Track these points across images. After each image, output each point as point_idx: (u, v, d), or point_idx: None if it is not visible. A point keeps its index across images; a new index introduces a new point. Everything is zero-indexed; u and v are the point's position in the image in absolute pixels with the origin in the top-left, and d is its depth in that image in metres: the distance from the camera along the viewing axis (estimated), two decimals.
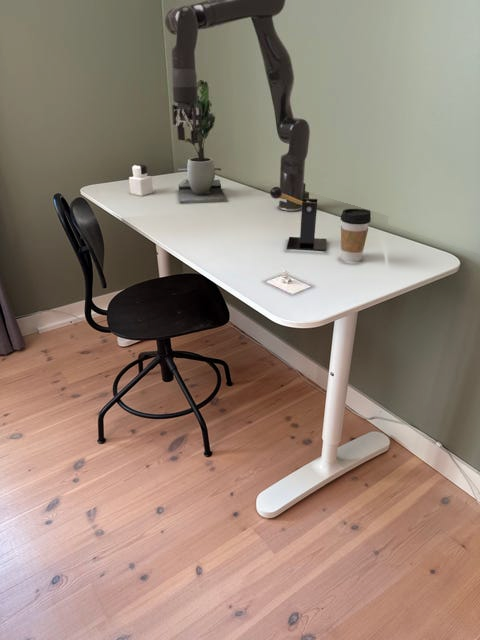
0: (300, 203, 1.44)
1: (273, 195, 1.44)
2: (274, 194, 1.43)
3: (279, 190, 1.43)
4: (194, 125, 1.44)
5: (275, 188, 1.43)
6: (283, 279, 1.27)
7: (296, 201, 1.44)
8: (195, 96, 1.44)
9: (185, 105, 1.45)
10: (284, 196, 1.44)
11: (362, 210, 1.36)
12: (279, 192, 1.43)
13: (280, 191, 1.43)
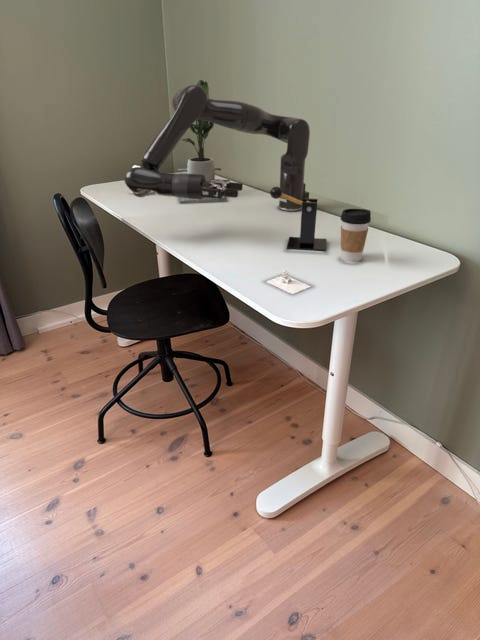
0: (300, 203, 1.44)
1: (273, 195, 1.44)
2: (274, 194, 1.43)
3: (279, 190, 1.43)
4: (218, 197, 1.42)
5: (275, 188, 1.43)
6: (283, 279, 1.27)
7: (296, 201, 1.44)
8: (195, 184, 1.44)
9: None
10: (284, 196, 1.44)
11: (362, 210, 1.36)
12: (279, 192, 1.43)
13: (280, 191, 1.43)
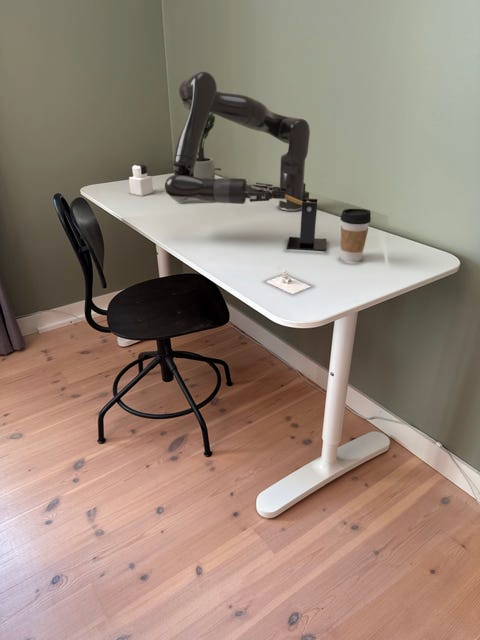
0: (300, 203, 1.44)
1: None
2: None
3: (279, 190, 1.43)
4: None
5: (275, 188, 1.43)
6: (283, 279, 1.27)
7: (296, 201, 1.44)
8: (237, 188, 1.43)
9: None
10: None
11: (362, 210, 1.36)
12: None
13: None
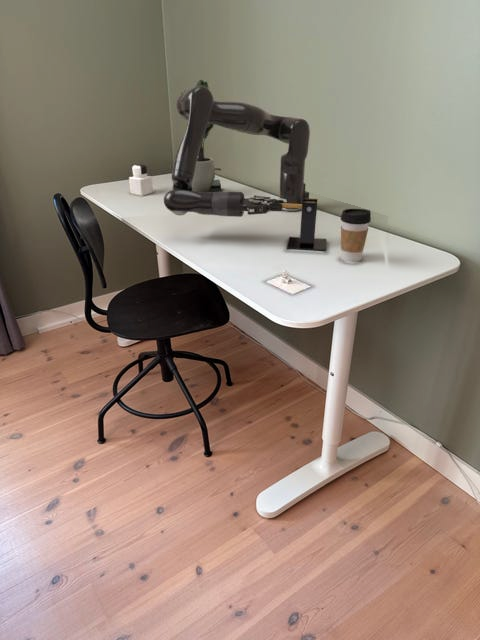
0: (299, 206, 1.45)
1: None
2: None
3: (275, 201, 1.45)
4: None
5: (271, 201, 1.45)
6: (283, 279, 1.27)
7: (295, 206, 1.45)
8: (235, 202, 1.45)
9: None
10: None
11: (362, 210, 1.36)
12: None
13: (276, 202, 1.45)
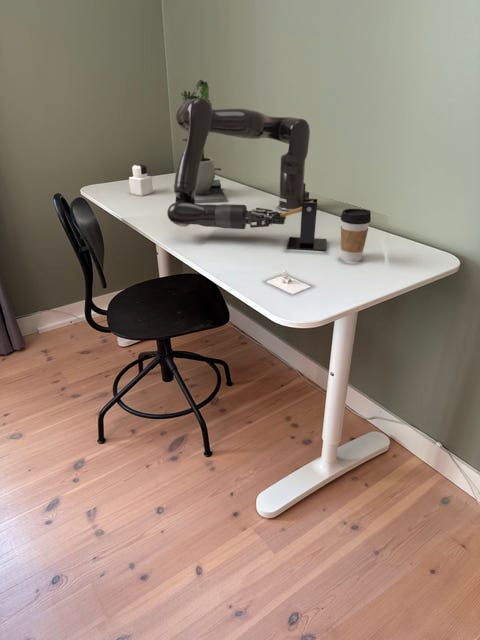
0: (300, 210, 1.45)
1: None
2: None
3: (275, 213, 1.47)
4: None
5: (271, 214, 1.47)
6: (283, 279, 1.27)
7: (295, 211, 1.46)
8: (238, 215, 1.47)
9: None
10: (283, 215, 1.47)
11: (362, 210, 1.36)
12: (276, 215, 1.47)
13: (277, 213, 1.47)
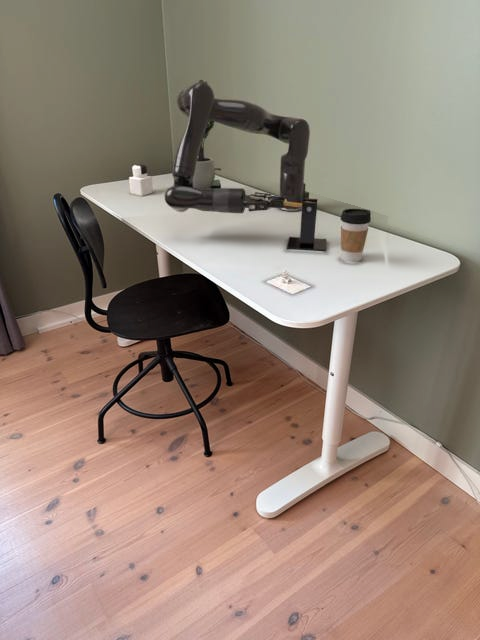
0: (299, 205, 1.45)
1: None
2: None
3: (276, 198, 1.45)
4: (264, 209, 1.43)
5: (271, 197, 1.45)
6: (283, 279, 1.27)
7: (295, 205, 1.45)
8: (236, 198, 1.44)
9: None
10: None
11: (362, 210, 1.36)
12: None
13: (277, 199, 1.45)
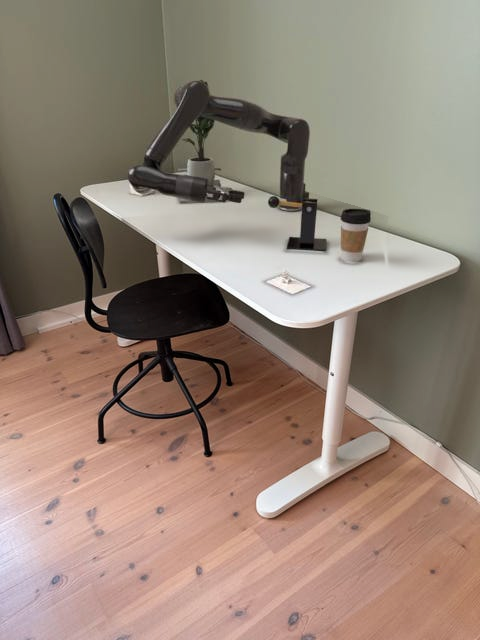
0: (299, 205, 1.45)
1: (271, 205, 1.45)
2: (272, 204, 1.45)
3: (276, 199, 1.45)
4: (222, 201, 1.43)
5: (271, 198, 1.45)
6: (283, 279, 1.27)
7: (295, 205, 1.45)
8: (200, 186, 1.45)
9: None
10: (282, 203, 1.45)
11: (362, 210, 1.36)
12: (276, 200, 1.45)
13: (277, 199, 1.45)
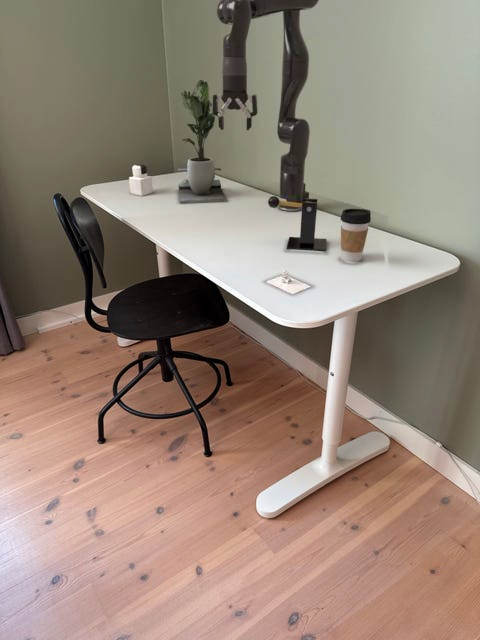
0: (299, 205, 1.45)
1: (271, 205, 1.45)
2: (272, 204, 1.45)
3: (276, 199, 1.45)
4: (255, 112, 1.50)
5: (271, 198, 1.45)
6: (283, 279, 1.27)
7: (295, 205, 1.45)
8: None
9: (239, 93, 1.48)
10: (282, 203, 1.45)
11: (362, 210, 1.36)
12: (276, 200, 1.45)
13: (277, 199, 1.45)
